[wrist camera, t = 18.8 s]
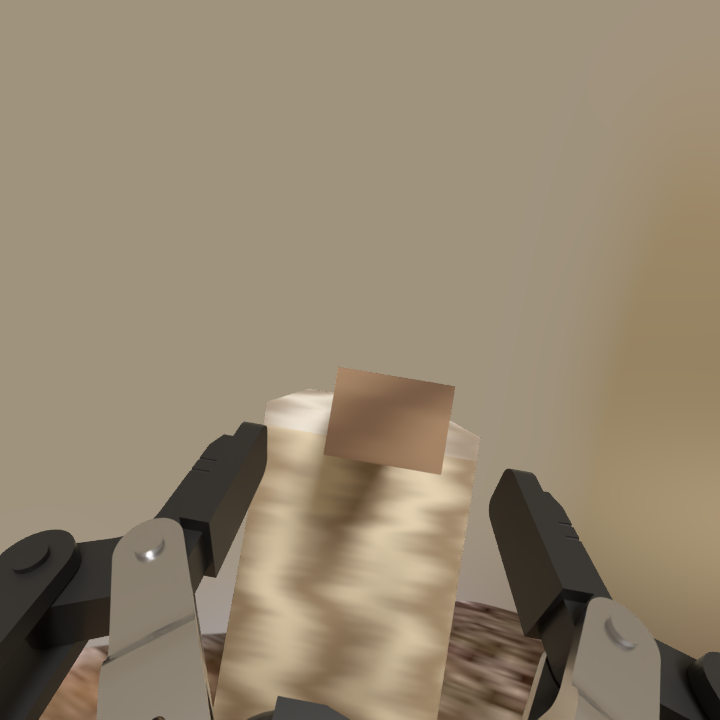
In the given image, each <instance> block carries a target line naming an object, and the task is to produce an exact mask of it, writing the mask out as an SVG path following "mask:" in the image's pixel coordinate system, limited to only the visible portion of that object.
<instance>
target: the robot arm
mask: <svg viewBox="0 0 720 720" xmlns="http://www.w3.org/2000/svg"><path fill="white" fill-rule="evenodd" d="M266 465H267V426H266V425H261V424H255V423H249V422H243V423H242V424H241V425H240V427H239V428H238V430H237V431H236V433H235V434H234V436H230V435H223V436H221V437H220V438H218V439H217V440H215V441H214V442H213V443H211V444H210V445H209V446H208V447H207V449H206V450H205V451H204V453H203V454H202V455H201V457H200V459H199V460H198V461H197V462H196V464H195V465H194V466H193V467H192V470H191V471H190V472H189V473H188V474H187V476H186V477H185V478H184V480H183V481H182V482H181V484H180V485H179V486H178V488H177V489H176V490H175V492H174V493H173V495H172V496H171V497H170V498H169V500H168V501H167V503H166V504H165V505H164V507H163V508H162V509H161V511H160V512H159V513H158V514H157V516H156V517H155V518H154V519H152V520H148V521H146V522H143V523H141V524H139V525H137V526H136V527H134V528H133V529H131V530H130V531H129V532H128V533H126V534H125V535H124V536H122V537H118V538H112V539H105V540H97V541H90V542H82V543H76V542H75V540H74V538H73V536H72V535H71V534H70V533H69V532H66V531H63V530H47V531H43V532H39V533H36V534H33V535H31V536H29V537H26V538H24V539H22V540H20V541H19V542H17V543H15V544H14V545H12V546H11V547H9V548H8V549H7V550H5V551H4V552H3V553H2V554H1V555H0V720H39V718H40V716H41V715H42V713H43V712H44V710H45V708H46V707H47V705H48V704H49V702H50V701H51V699H52V697H53V696H54V694H55V693H56V691H57V689H58V688H59V686H60V685H61V683H62V682H63V680H64V678H65V677H66V675H67V674H68V672H69V671H70V669H71V667H72V666H73V664H74V663H75V661H76V659H77V658H78V656H79V655H80V653H81V652H82V650H83V648H84V647H85V645H86V644H87V642H88V640H89V639H94V638H99V637H104V636H109V651H108V657H107V659H106V660H105V661H104V662H103V664H102V667H101V671H100V676H99V686H98V703H97V720H215V719H214V712H213V706H212V700H211V694H210V688H209V682H208V676H207V670H206V663H205V657H204V650H203V644H202V637H201V631H200V624H199V618H198V611H197V604H196V598H195V592H196V590H197V588H198V586H199V584H200V582H201V580H202V578H203V576H209V577H215V578H216V577H217V574H218V572H219V570H220V568H221V566H222V564H223V562H224V559H225V557H226V555H227V553H228V551H229V549H230V547H231V544H232V542H233V540H234V538H235V536H236V534H237V532H238V529H239V527H240V525H241V523H242V521H243V519H244V517H245V514H246V512H247V510H248V508H249V506H250V504H251V502H252V499H253V497H254V495H255V493H256V491H257V489H258V487H259V484H260V482H261V480H262V478H263V475H264V473H265V469H266ZM489 517H490V521H491V524H492V528H493V531H494V534H495V538H496V541H497V544H498V548H499V551H500V555H501V558H502V562H503V565H504V568H505V571H506V575H507V578H508V581H509V585H510V589H511V592H512V595H513V599H514V602H515V605H516V609H517V612H518V616H519V619H520V622H521V626H522V629H523V633H524V636H525V637H531V638H536V639H541V640H542V643H543V646H544V649H545V652H544V653H543V654H542V656H541V658H540V662H539V665H538V668H537V671H536V675H535V678H534V681H533V684H532V688H531V691H530V694H529V697H528V700H527V704H526V707H525V710H524V713H523V717H522V720H720V653H718V652H709V653H707V654H705V655H704V656H702V657H701V658H699V659H698V660H696V659H694V658H692V657H690V656H688V655H686V654H684V653H682V652H680V651H678V650H676V649H674V648H672V647H670V646H668V645H666V644H664V643H662V642H660V641H658V640H656V639H654V638H653V637H652V635H651V633H650V632H649V630H648V629H647V628H646V627H645V625H644V624H643V623H642V622H641V621H640V620H639V619H638V618H637V617H636V616H635V615H634V614H633V613H632V612H630V611H629V610H628V609H627V608H626V607H624V606H622V605H621V604H619V603H617V602H615V601H614V600H612V598H611V596H610V594H609V592H608V591H607V589H606V587H605V585H604V583H603V582H602V580H601V578H600V576H599V574H598V572H597V570H596V568H595V566H594V565H593V563H592V561H591V559H590V557H589V555H588V553H587V552H586V550H585V548H584V546H583V544H582V542H580V541H579V537H578V535H577V533H576V531H575V529H574V528H573V527H571V525H572V524H571V522H570V520H569V518H568V517H567V515H566V513H565V511H564V509H563V507H562V506H561V505H560V504H559V503H558V502H557V501H556V500H555V499H554V498H553V497H552V496H551V494H550V493H549V492H543V490H542V488H541V486H540V484H539V482H538V480H537V478H536V476H535V475H534V474H533V473H530V472H525V471H519V470H514V469H506V470H505V471H504V473H503V475H502V477H501V479H500V481H499V483H498V485H497V487H496V489H495V491H494V494H493V495H492V497H491V500H490V504H489ZM246 720H350V719H348V718H347V717H345V716H344V715H342V714H340V713H339V712H337V711H335V710H334V709H332V708H330V707H329V706H327V705H324V704H318V703H313V702H308V701H303V700H297V699H292V698H287V697H282V696H278V697H277V701H276V705H275V709H274V710H272V711H267V712H263V713H260V714H258V715H255V716H252V717H250V718H248V719H246Z"/></svg>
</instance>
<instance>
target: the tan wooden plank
mask: <svg viewBox="0 0 720 720" xmlns="http://www.w3.org/2000/svg"><path fill="white" fill-rule="evenodd" d="M454 390H455V386H450V385H443V384H437V383H432V382H425V381H420V380H414V379H408V378H402V377H396V376H390V375H384V374H378V373H372V372H367V371H361V370H354V369H348V368H343V367H338V372H337V378H336V384H335V390H334V395H333V401H332V407H331V413H330V419H329V425H328V431H327V436H326V442H325V448H324V454H323V455H328V456H334V457H340V458H346V459H351V460H357V461H363V462H369V463H375V464H380V465H386V466H392V467H398V468H403V469H409V470H415V471H421V472H426V473H432V474H438V475H441V472H442V466H443V460H444V453H445V447H446V441H447V434H448V428H449V422H450V415H451V409H452V403H453V396H454Z"/></svg>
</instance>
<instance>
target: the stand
mask: <svg viewBox="0 0 720 720" xmlns="http://www.w3.org/2000/svg"><path fill="white" fill-rule="evenodd" d="M333 395H334V393H332V392H326V391H320V390H315V389H307V390H304V391H300V392H297V393H294V394H291V395H288V396H284V397H281V398H278V399H275V400H271V401H269V402H268V403H267V409H266V414H265V420H264V425H266V426H267V465H266V469H265V473H264V475H263V478H262V480H261V482H260V484H259V487H258V489H257V491H256V493H255V495H254V497H253V499H252V502H251V504H250V506H249V510H248V516H247V521H246V527H245V532H244V538H243V544H242V549H241V555H240V561H239V566H238V572H237V577H236V583H235V589H234V594H233V600H232V605H231V611H230V617H229V622H228V628H227V634H226V639H225V645H224V650H223V656H222V662H221V667H220V673H219V679H218V684H217V690H216V695H215V701H214V707H213V712H214V719H215V720H246V719H248V718H250V717H252V716H255V715H258V714H260V713H263V712H267V711H272V710H274V709H275V705H276V701H277V697H278V696H282V697H287V698H292V699H297V700H303V701H308V702H313V703H318V704H324V705H327V706H329V707H330V708H332V709H334V710H335V711H337V712H339V713H340V714H342V715H344V716H345V717H347V718H348V719H350V720H437V716H438V709H439V703H440V696H441V690H442V683H443V677H444V670H445V664H446V657H447V651H448V644H449V638H450V631H451V625H452V618H453V612H454V606H455V599H456V592H457V586H458V579H459V573H460V567H461V560H462V554H463V547H464V541H465V534H466V528H467V521H468V515H469V508H470V501H471V495H472V489H473V483H474V476H475V469H476V463H477V456H478V450H479V444H480V438H479V437H478V436H476V435H474V434H472V433H471V432H469V431H467V430H465V429H464V428H462V427H460V426H458V425H456V424H455V423H453V422H451V421H450V422H449V428H448V434H447V441H446V447H445V453H444V460H443V466H442V472H441V475H438V474H432V473H426V472H421V471H415V470H409V469H403V468H398V467H392V466H386V465H380V464H375V463H369V462H363V461H357V460H351V459H346V458H340V457H334V456H328V455H323V454H324V448H325V442H326V436H327V431H328V425H329V419H330V413H331V407H332V401H333Z"/></svg>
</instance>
